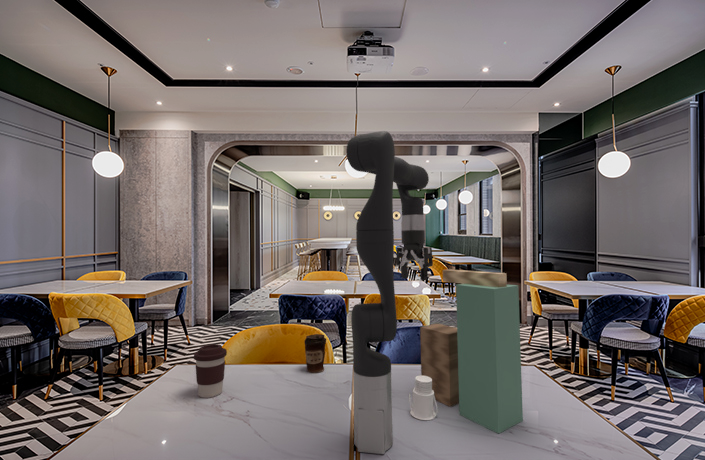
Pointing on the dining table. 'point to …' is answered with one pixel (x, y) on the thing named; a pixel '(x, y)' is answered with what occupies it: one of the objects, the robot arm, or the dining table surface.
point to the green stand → (489, 355)
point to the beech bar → (475, 278)
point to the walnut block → (441, 361)
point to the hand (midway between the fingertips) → (414, 279)
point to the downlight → (423, 399)
